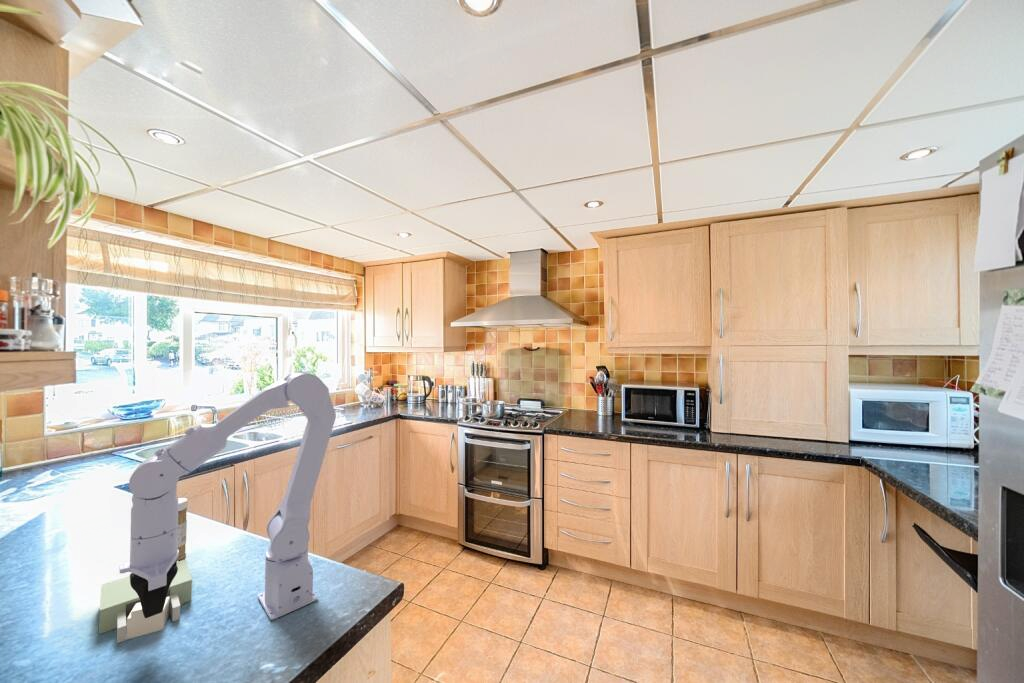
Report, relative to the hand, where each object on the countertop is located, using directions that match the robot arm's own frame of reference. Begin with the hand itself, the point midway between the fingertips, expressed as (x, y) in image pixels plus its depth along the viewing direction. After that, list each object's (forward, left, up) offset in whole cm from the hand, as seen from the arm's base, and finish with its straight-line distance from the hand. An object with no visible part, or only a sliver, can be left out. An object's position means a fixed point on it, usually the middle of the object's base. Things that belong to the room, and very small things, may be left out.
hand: (153, 613), depth 62 cm
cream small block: (+6, 0, -5) cm, 7 cm away
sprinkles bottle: (+30, -5, -5) cm, 31 cm away
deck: (+12, 0, -5) cm, 12 cm away
